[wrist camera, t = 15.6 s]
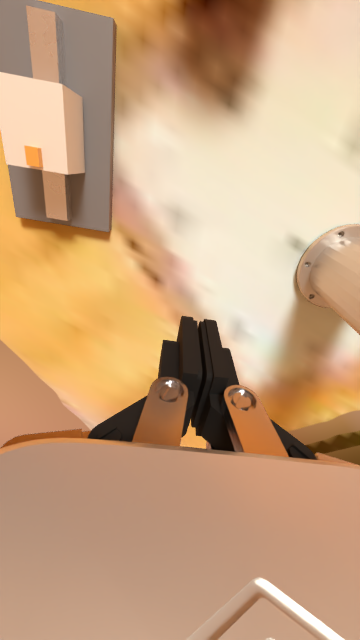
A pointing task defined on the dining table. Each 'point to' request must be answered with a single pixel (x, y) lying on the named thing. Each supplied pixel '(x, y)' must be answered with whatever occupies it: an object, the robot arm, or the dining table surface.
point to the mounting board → (98, 108)
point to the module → (41, 125)
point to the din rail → (52, 68)
